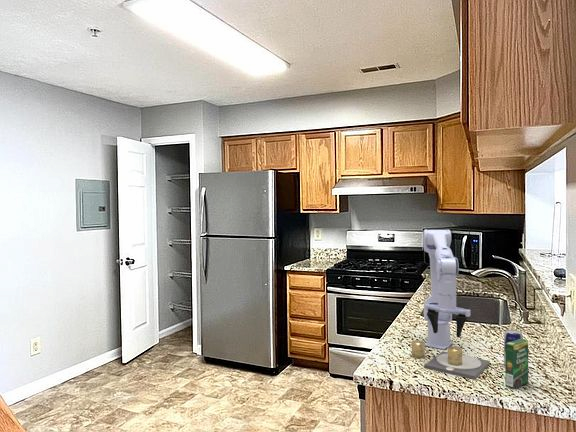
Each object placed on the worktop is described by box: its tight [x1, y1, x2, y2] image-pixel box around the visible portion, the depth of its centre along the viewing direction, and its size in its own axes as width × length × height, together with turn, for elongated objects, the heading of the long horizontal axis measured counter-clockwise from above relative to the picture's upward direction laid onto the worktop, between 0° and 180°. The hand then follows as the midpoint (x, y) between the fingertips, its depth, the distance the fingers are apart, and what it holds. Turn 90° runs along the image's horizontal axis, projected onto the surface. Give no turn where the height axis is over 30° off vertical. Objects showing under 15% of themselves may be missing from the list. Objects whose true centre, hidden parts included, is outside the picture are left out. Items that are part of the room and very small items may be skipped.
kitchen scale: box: [423, 350, 491, 380], centre depth 149 cm, size 17×16×2 cm
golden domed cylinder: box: [447, 345, 463, 366], centre depth 147 cm, size 4×4×5 cm
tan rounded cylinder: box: [411, 339, 426, 359], centre depth 158 cm, size 4×4×5 cm
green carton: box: [504, 338, 529, 390], centre depth 133 cm, size 8×3×13 cm, turn 122°
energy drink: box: [503, 329, 524, 369], centre depth 146 cm, size 5×5×12 cm
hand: (446, 334), depth 149 cm, fingers open, 7 cm apart
